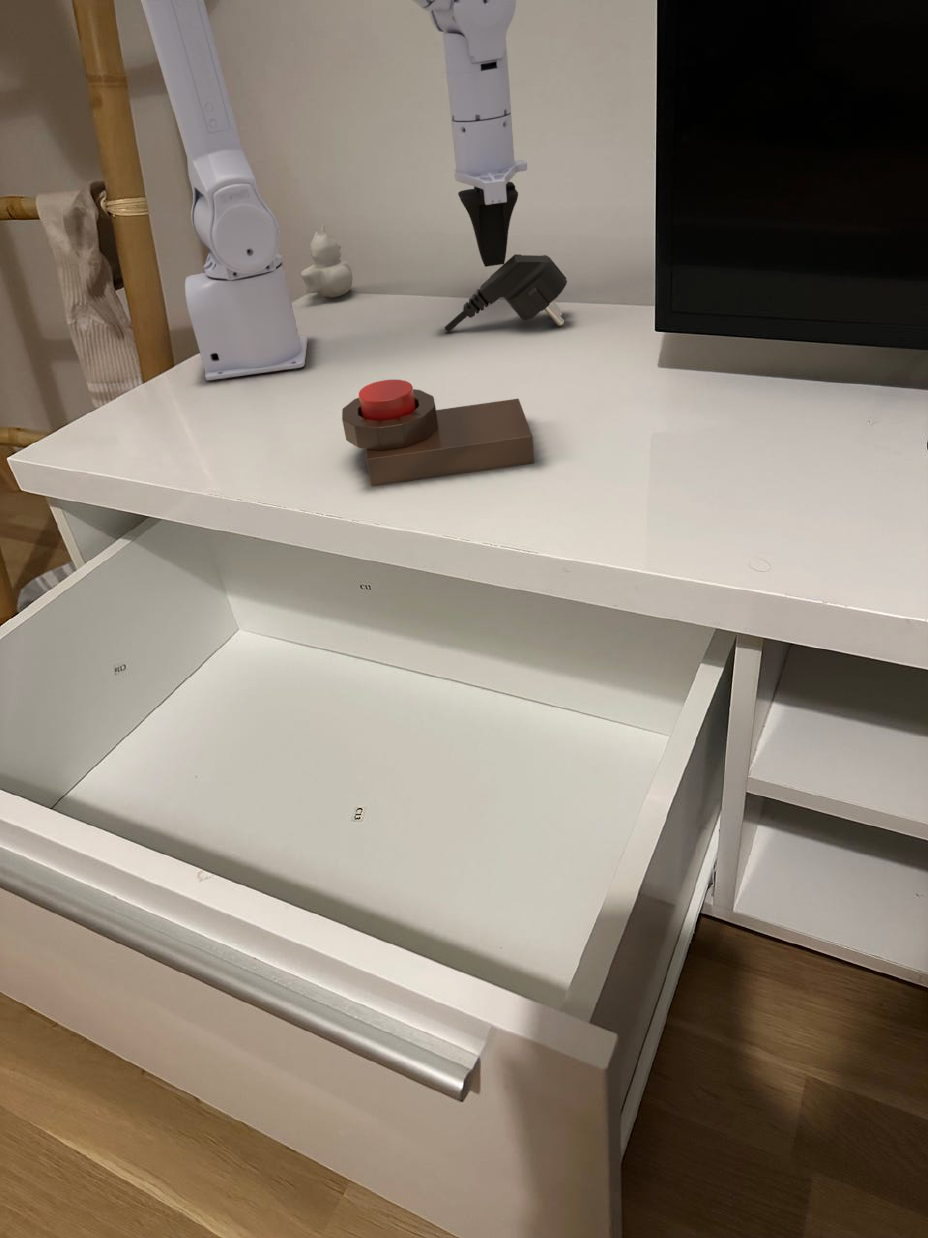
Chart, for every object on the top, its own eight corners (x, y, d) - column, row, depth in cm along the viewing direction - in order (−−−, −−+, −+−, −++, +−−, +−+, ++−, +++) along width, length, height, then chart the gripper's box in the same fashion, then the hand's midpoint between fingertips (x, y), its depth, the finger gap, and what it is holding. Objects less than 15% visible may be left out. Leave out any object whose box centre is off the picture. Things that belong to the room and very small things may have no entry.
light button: (362, 426, 67) (358, 404, 66) (362, 405, 70) (358, 383, 69) (417, 419, 67) (413, 396, 66) (414, 398, 70) (411, 375, 69)
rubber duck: (367, 291, 106) (355, 217, 101) (324, 309, 102) (310, 233, 98) (335, 286, 109) (322, 214, 104) (293, 303, 105) (277, 229, 101)
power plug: (442, 314, 94) (534, 232, 89) (490, 368, 97) (582, 292, 92) (439, 333, 89) (536, 247, 84) (490, 389, 92) (586, 310, 87)
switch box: (351, 489, 67) (341, 439, 65) (351, 442, 73) (342, 395, 71) (534, 463, 67) (531, 412, 65) (518, 419, 74) (515, 371, 71)
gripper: (535, 121, 81) (543, 277, 89) (512, 100, 93) (521, 240, 101) (456, 132, 81) (471, 287, 89) (443, 110, 93) (458, 249, 101)
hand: (493, 263), depth 95 cm, fingers closed
